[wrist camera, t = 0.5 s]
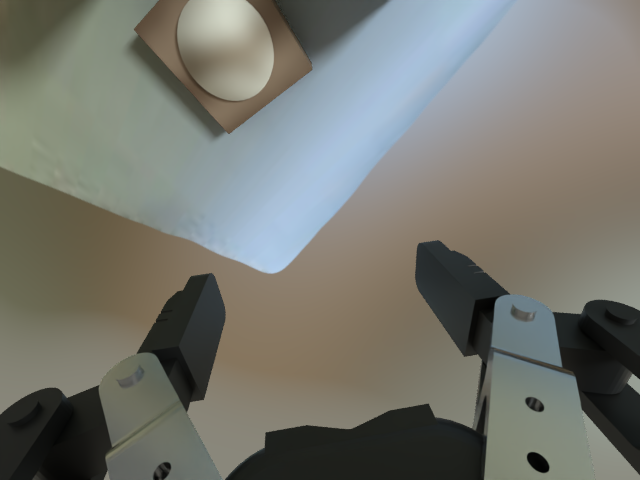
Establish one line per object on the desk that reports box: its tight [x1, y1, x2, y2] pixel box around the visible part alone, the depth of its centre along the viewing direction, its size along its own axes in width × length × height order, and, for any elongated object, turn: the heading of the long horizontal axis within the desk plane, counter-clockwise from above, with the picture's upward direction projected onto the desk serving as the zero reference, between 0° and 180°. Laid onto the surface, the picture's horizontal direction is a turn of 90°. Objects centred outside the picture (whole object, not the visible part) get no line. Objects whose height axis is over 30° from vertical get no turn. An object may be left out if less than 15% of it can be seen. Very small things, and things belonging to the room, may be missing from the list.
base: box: [134, 0, 312, 134], centre depth 29 cm, size 12×12×4 cm
